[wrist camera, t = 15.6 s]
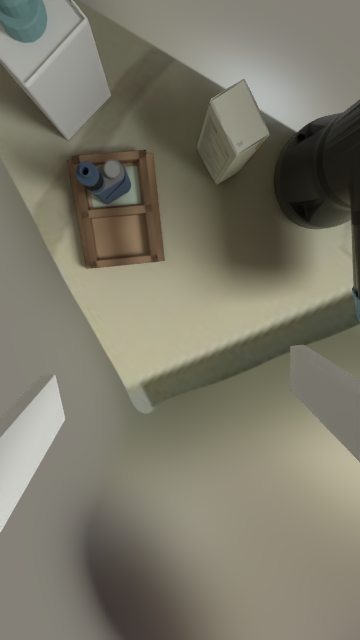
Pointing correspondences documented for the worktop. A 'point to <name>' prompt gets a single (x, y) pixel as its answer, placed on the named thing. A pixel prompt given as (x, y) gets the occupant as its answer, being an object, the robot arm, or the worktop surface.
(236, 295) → the worktop surface
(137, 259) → the divided wooden tray
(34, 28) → the soap bottle
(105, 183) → the vaping device
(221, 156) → the skincare box
